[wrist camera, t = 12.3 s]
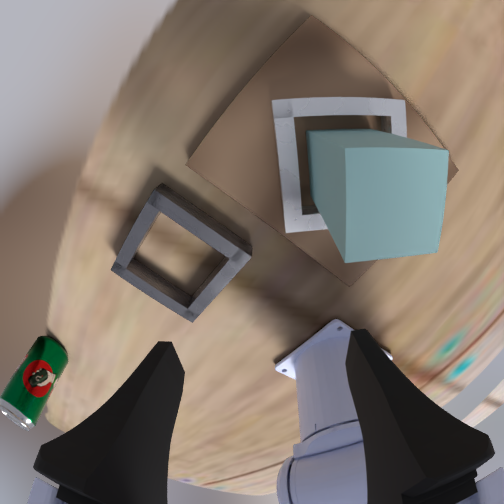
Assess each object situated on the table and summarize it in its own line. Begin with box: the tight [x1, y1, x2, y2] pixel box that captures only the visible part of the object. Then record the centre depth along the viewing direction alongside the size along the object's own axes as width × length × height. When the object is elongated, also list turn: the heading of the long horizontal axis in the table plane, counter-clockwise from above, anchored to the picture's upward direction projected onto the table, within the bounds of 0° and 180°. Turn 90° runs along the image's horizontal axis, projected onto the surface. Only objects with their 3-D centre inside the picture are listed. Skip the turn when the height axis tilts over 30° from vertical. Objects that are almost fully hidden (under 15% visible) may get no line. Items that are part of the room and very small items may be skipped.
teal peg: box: [306, 129, 449, 263], centre depth 12 cm, size 4×4×8 cm
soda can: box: [0, 336, 68, 431], centre depth 22 cm, size 5×5×12 cm
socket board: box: [186, 15, 459, 287], centre depth 15 cm, size 14×12×2 cm
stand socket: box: [111, 183, 252, 323], centre depth 19 cm, size 8×8×2 cm
